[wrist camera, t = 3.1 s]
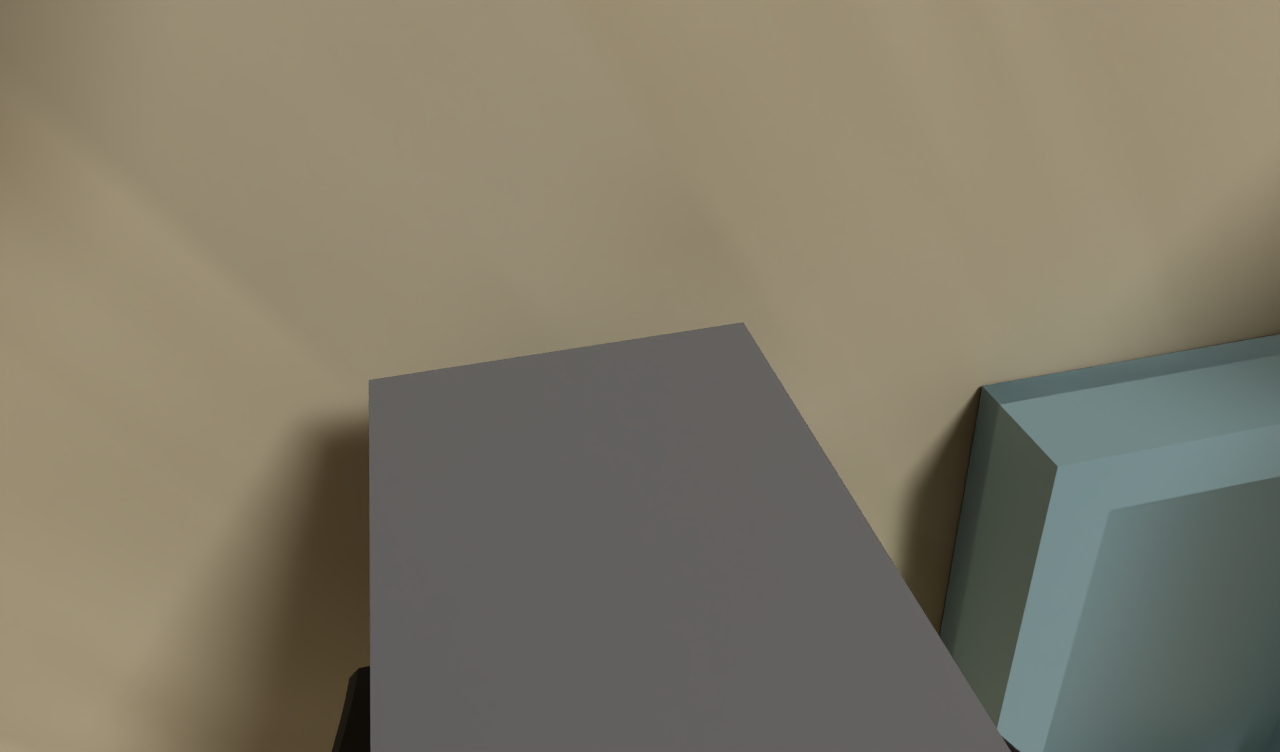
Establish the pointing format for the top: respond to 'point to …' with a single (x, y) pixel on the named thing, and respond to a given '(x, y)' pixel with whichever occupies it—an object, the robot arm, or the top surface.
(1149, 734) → the service tray
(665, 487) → the block
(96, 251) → the top surface
